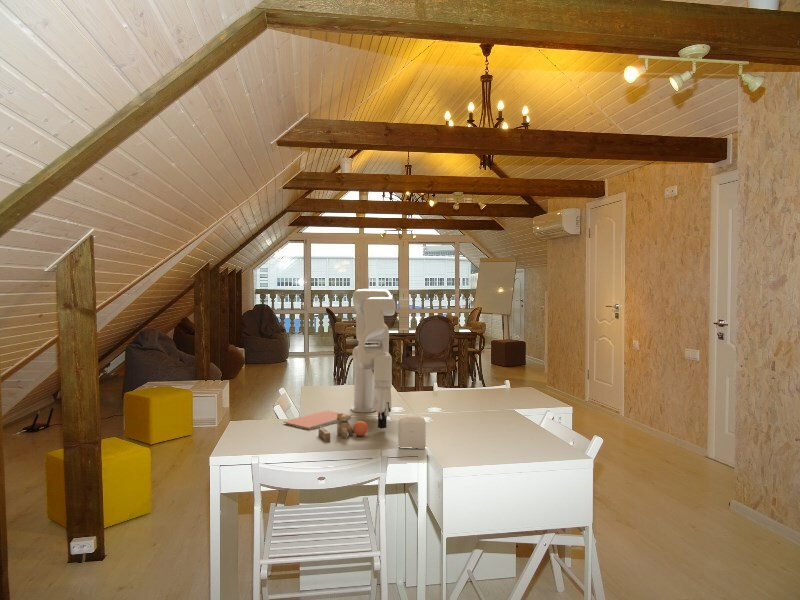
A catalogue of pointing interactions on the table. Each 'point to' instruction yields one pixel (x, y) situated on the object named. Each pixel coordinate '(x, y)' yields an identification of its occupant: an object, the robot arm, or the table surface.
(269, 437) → the table surface
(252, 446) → the table surface
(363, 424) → the ball
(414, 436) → the photo printer
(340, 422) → the rear pin
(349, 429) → the front pin
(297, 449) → the table surface
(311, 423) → the notebook
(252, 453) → the table surface
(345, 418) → the rear pin
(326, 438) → the block
